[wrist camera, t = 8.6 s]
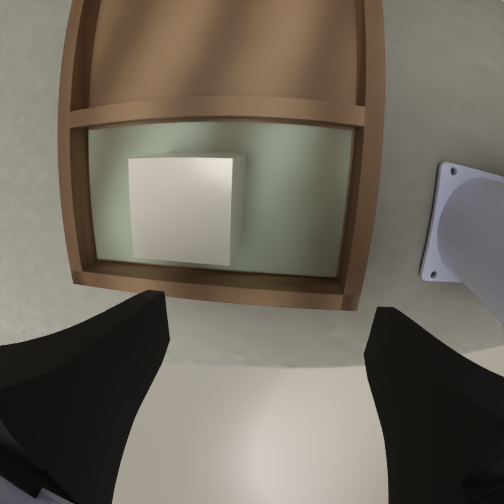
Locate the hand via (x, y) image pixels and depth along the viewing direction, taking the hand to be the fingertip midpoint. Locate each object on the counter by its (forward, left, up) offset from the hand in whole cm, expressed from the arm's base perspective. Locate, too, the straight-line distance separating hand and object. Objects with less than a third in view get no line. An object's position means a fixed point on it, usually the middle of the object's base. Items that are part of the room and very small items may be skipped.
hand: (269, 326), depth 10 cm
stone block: (+4, -3, -8) cm, 10 cm away
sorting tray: (+4, -8, -9) cm, 13 cm away
